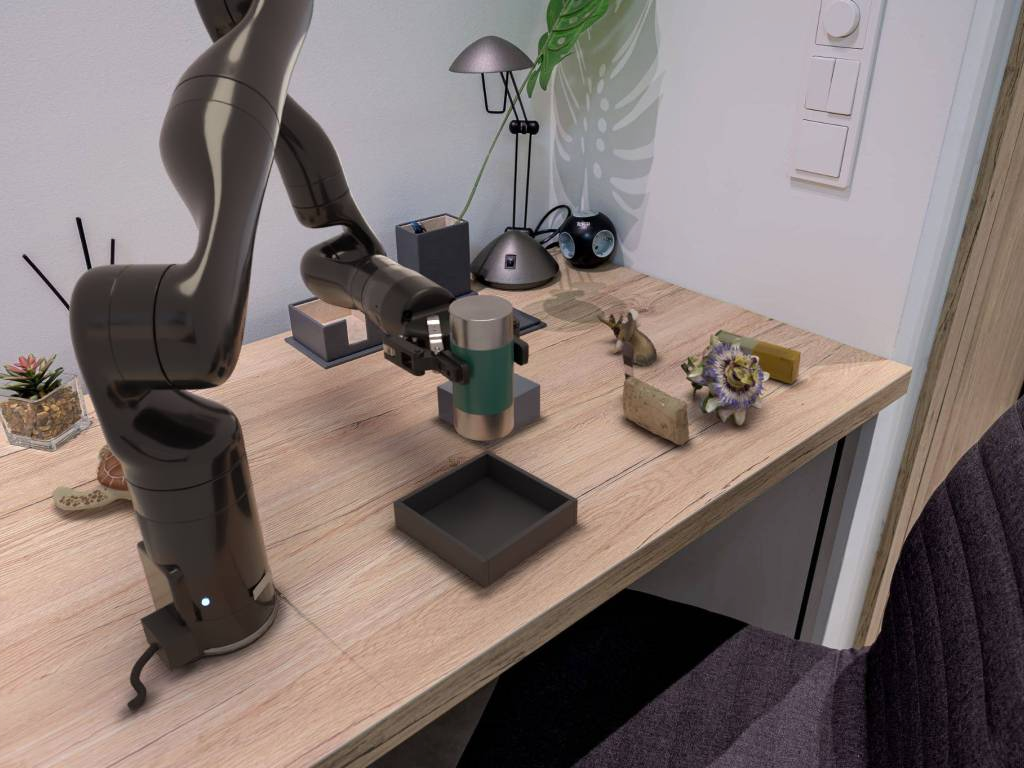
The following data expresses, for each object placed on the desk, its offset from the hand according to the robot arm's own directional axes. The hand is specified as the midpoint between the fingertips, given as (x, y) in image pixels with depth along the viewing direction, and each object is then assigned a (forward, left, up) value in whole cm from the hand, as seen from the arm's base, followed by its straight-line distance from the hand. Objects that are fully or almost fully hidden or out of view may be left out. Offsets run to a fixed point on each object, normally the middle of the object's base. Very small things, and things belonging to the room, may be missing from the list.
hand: (496, 365), depth 78 cm
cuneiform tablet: (+26, 0, -18) cm, 31 cm away
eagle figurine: (+40, +14, -18) cm, 46 cm away
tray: (-2, 0, -18) cm, 18 cm away
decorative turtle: (-23, +33, -18) cm, 44 cm away
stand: (+13, +15, -18) cm, 26 cm away
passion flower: (+35, -4, -18) cm, 39 cm away
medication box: (+47, -2, -18) cm, 50 cm away
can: (0, +2, -8) cm, 8 cm away
